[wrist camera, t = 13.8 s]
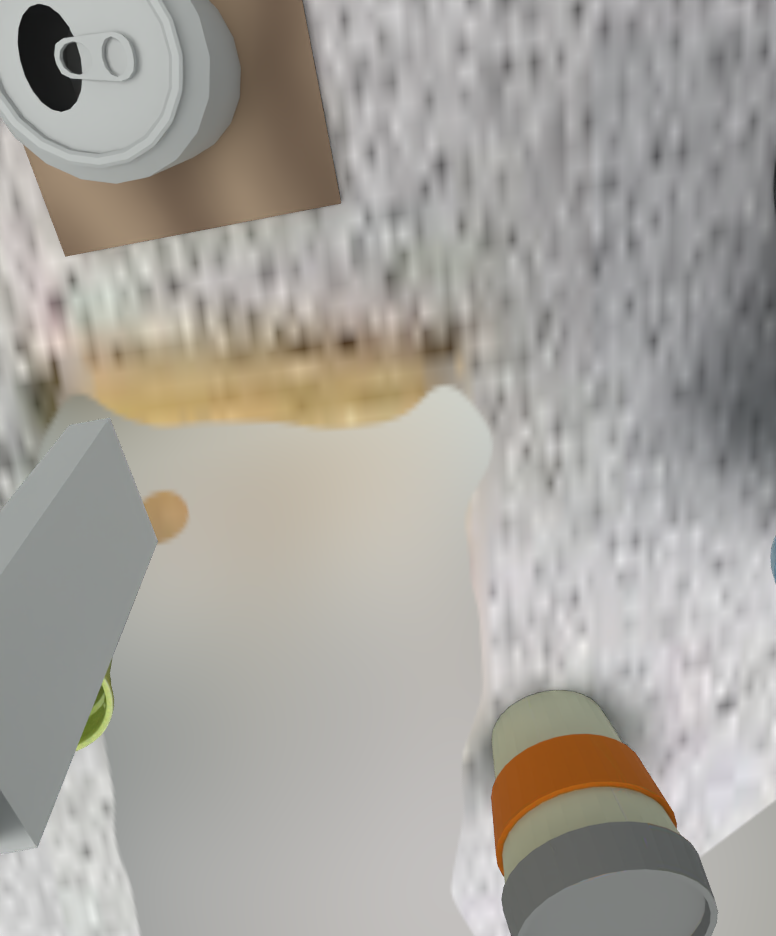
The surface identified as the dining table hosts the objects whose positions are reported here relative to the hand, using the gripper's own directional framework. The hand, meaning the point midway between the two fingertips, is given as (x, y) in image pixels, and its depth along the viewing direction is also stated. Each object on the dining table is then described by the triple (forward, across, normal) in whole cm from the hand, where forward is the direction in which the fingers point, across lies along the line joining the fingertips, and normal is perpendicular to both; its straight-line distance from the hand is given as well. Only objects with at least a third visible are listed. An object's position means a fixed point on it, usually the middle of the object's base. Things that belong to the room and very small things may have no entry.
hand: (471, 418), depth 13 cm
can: (+26, +9, -8) cm, 28 cm away
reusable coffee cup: (+27, -6, +40) cm, 49 cm away
